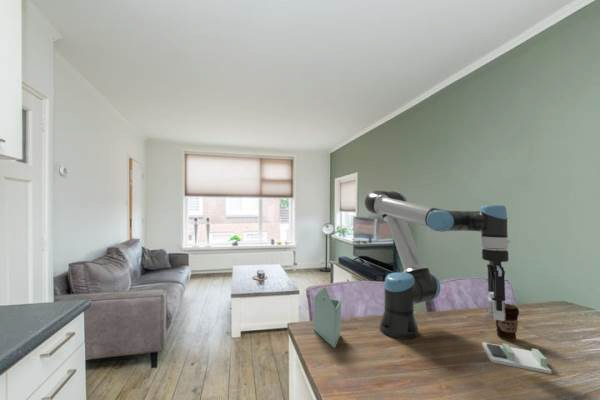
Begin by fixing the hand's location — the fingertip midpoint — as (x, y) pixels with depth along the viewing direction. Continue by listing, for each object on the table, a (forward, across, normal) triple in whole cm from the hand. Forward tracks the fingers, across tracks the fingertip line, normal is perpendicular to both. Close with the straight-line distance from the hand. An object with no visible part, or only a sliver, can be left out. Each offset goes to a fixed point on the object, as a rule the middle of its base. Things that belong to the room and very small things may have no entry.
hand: (496, 317), depth 94 cm
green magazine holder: (+14, -10, +56) cm, 59 cm away
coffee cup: (+15, +23, -8) cm, 28 cm away
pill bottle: (+1, 0, 0) cm, 1 cm away
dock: (+15, +5, -5) cm, 16 cm away
